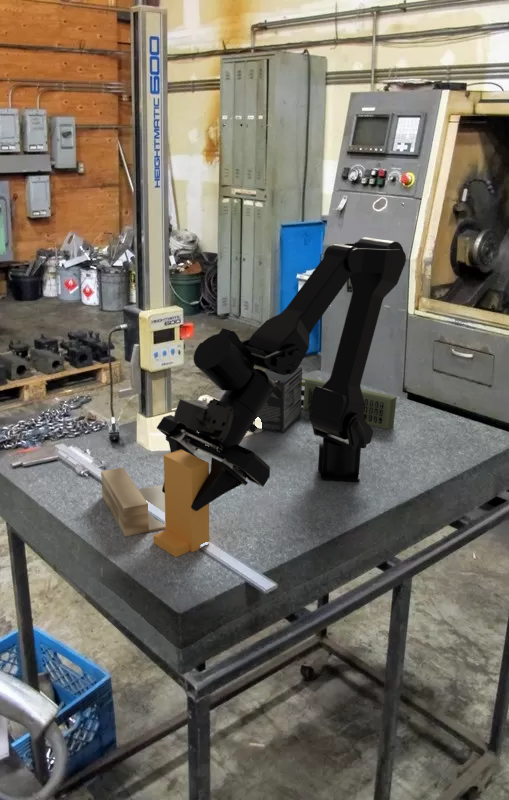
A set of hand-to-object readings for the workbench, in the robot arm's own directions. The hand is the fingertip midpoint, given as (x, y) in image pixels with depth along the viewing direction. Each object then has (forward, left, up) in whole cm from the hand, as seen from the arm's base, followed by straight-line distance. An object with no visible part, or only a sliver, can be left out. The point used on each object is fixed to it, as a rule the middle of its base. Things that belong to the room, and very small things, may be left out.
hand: (178, 501), depth 104 cm
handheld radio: (-22, -54, -7) cm, 58 cm away
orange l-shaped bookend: (0, 0, -7) cm, 7 cm away
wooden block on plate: (+6, -9, -7) cm, 13 cm away
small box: (-11, -48, -7) cm, 50 cm away
